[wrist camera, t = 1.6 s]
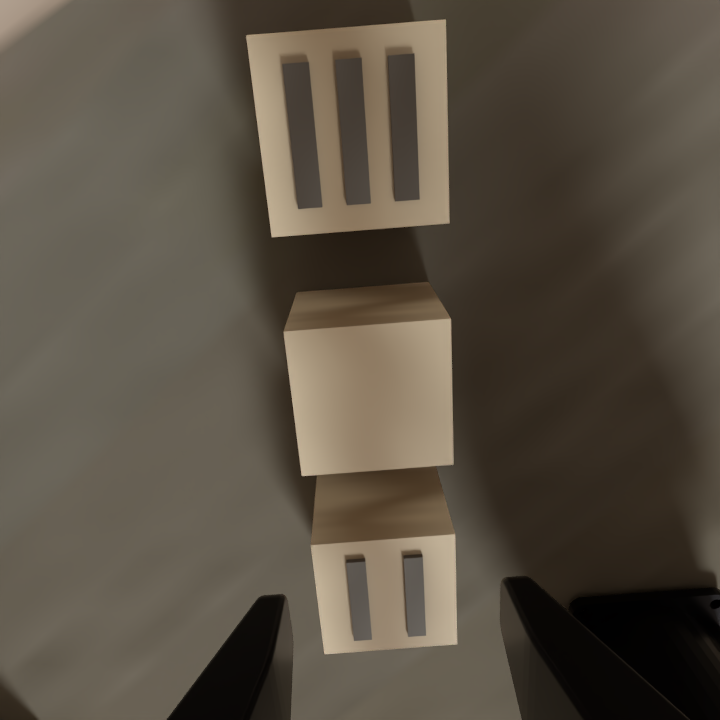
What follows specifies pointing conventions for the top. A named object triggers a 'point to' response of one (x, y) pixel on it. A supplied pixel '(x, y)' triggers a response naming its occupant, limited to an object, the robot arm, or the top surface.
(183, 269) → the top surface
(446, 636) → the two mark block
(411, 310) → the plain block
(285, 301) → the top surface
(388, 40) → the three mark block
